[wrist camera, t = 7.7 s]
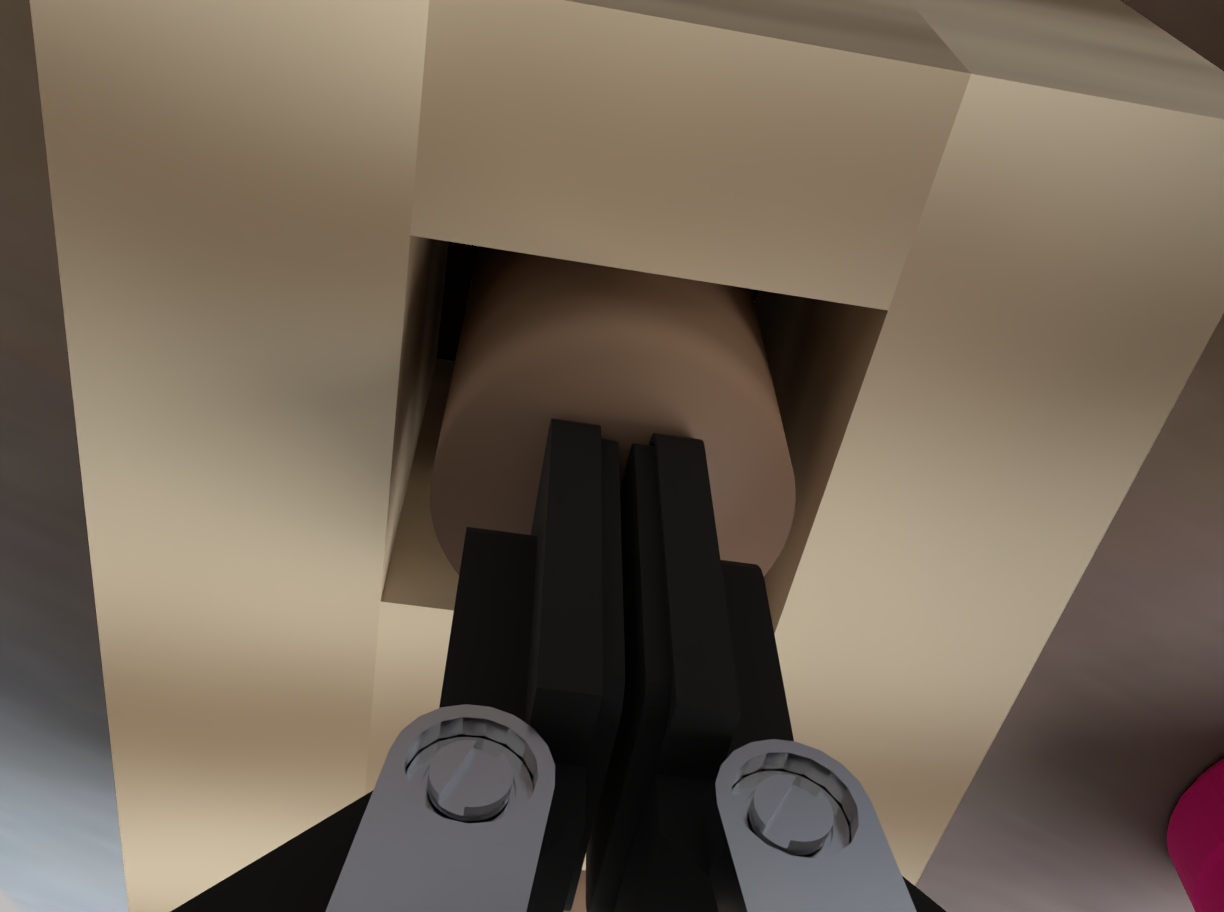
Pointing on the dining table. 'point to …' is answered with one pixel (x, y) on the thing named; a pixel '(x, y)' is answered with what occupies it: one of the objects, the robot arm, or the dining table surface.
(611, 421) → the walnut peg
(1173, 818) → the pepper mill
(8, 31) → the dining table surface
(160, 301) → the oak socket block
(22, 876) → the dining table surface
